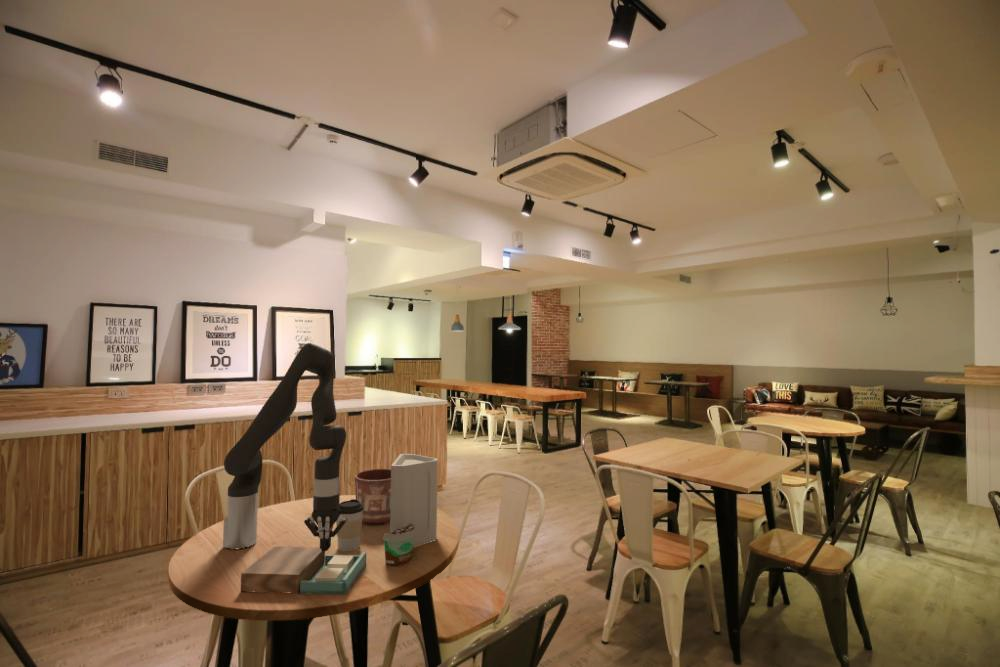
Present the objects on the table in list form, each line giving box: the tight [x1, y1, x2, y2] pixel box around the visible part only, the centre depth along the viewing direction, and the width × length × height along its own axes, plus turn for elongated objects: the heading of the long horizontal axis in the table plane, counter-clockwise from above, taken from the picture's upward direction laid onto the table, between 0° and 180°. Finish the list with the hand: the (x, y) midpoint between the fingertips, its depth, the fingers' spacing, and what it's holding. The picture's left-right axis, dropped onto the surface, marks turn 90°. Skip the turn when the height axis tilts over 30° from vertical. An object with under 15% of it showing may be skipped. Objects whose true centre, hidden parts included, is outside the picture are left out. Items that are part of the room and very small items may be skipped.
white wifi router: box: [389, 453, 439, 548], centre depth 167 cm, size 19×15×28 cm
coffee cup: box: [335, 498, 364, 552], centre depth 159 cm, size 9×9×15 cm
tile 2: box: [327, 554, 354, 573], centre depth 142 cm, size 6×6×2 cm
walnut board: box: [240, 545, 326, 594], centre depth 138 cm, size 16×18×5 cm
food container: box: [382, 523, 416, 567], centre depth 149 cm, size 12×6×10 cm, turn 148°
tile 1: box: [315, 568, 344, 581], centre depth 133 cm, size 6×6×2 cm
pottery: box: [354, 468, 391, 526], centre depth 186 cm, size 18×18×18 cm
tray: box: [299, 551, 367, 596], centre depth 137 cm, size 12×18×4 cm
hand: (325, 550), depth 142 cm, fingers closed
